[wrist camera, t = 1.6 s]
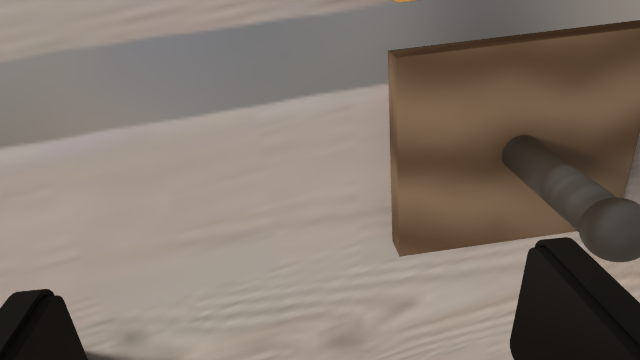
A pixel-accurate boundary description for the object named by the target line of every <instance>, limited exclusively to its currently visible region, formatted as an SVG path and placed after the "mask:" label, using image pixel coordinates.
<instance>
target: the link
mask: <svg viewBox="0 0 640 360" xmlns="http://www.w3.org/2000/svg"><path fill="white" fill-rule="evenodd" d="M394 1H396V2H406V1H415V0H394Z"/></svg>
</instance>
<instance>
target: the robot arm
mask: <svg viewBox="0 0 640 360" xmlns="http://www.w3.org/2000/svg"><path fill="white" fill-rule="evenodd" d="M510 349H511V353H512V356H513V358H514V360H640V303H639V302H638V301H637V300H636V299H635V298H634V297H633V296H632V295H631V294H630V293H629V292H628V291H626V290H625V289H624V288H623V287H622V286H621V285H620V284H619V283H618V282H617V281H616V280H615V279H614V278H613V277H612V276H611V275H610V274H609V273H608V272H607V271H605V270H604V269H603V268H602V267H601V266H600V265H599V264H598V263H597V262H596V261H595V260H594V259H593V258H592V257H591V256H590V255H589V254H588V253H587V252H586V251H584V250H583V249H582V248H581V247H580V246H579V245H578V244H577V243H576V242H575V241H574V240H572V239H571V238H567V237H564V238H554V239H544V240H540V241H538V242H537V243H536V245H535V248H531V249H530V250H529V252H528V255H527V260H526V265H525V270H524V275H523V280H522V284H521V289H520V294H519V299H518V304H517V309H516V314H515V319H514V324H513V329H512V334H511V338H510ZM0 360H88V359H87V356H86V354H85V351H84V349H83V347H82V344H81V342H80V339H79V337H78V334H77V332H76V329H75V327H74V324H73V322H72V319H71V317H70V314H69V312H68V310H67V307H66V305H65V302H64V300H63V298H62V297H61V296H55V295H54V293H53V292H52V291H51V290H49V289H42V290H32V291H22V292H16V293H13V294H12V295H11V296H10V297H9V298H8V299H7V300H6V302H5V303H4V304H3V306H2V307H1V308H0Z"/></svg>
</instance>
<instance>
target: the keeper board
mask: <svg viewBox="0 0 640 360" xmlns="http://www.w3.org/2000/svg"><path fill="white" fill-rule="evenodd" d="M388 67H389V68H388V69H389V112H390V153H391V194H392V235H393V242H394V245H395V247H396V249H397V252H398V254H399V256H407V255H414V254H421V253H427V252H434V251H441V250H448V249H455V248H462V247H469V246H476V245H483V244H490V243H497V242H504V241H511V240H518V239H525V238H532V237H539V236H546V235H553V234H560V233H567V232H574V231H578V232H579V234H580V237H581V240H582V242H583V243H584V245H585V246H586V248H587V249H588V250H589V251H590V252H592V253H593V254H594V255H596V256H598V257H599V258H602V259H604V260H607V261H612V262H628V261H632V260H635V259H637V258H639V257H640V205H639V204H638V203H636V202H634V201H631V200H628V199H624V198H623V195H624V191H625V187H626V183H627V179H628V175H629V171H630V167H631V164H632V160H633V156H634V152H635V148H636V144H637V140H638V136H639V132H640V20H638V21H630V22H621V23H613V24H605V25H597V26H588V27H580V28H572V29H563V30H555V31H547V32H539V33H531V34H522V35H514V36H506V37H497V38H489V39H481V40H473V41H465V42H456V43H448V44H440V45H431V46H423V47H415V48H407V49H398V50H390V51H388Z"/></svg>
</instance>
